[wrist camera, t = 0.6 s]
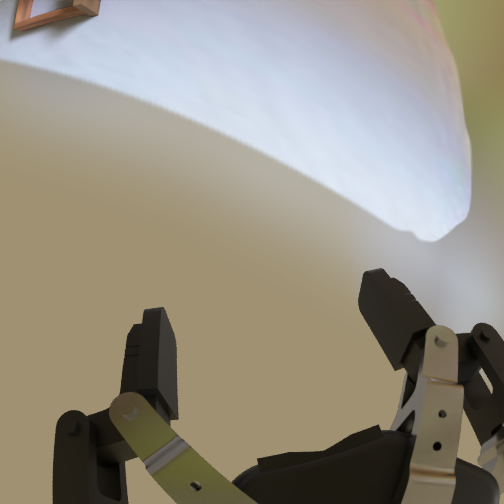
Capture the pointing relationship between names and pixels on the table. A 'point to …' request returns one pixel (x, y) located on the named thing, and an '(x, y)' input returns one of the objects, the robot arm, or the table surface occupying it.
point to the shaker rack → (52, 13)
